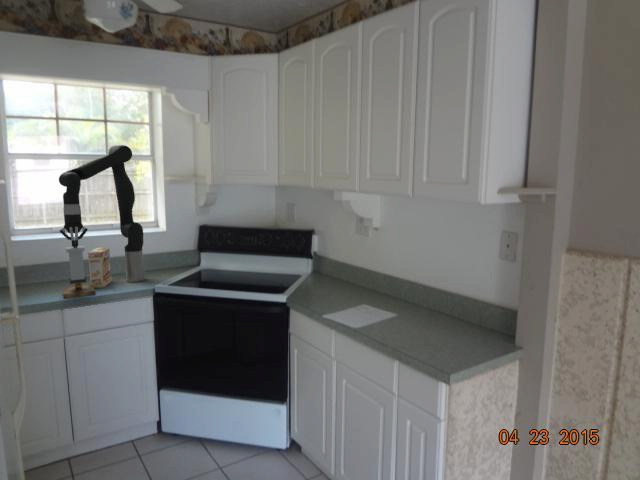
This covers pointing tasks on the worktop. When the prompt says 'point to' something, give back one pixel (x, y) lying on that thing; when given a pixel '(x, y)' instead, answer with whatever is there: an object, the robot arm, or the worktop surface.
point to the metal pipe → (78, 286)
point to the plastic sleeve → (76, 262)
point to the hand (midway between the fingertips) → (75, 247)
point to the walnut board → (78, 291)
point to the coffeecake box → (100, 267)
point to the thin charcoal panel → (77, 281)
